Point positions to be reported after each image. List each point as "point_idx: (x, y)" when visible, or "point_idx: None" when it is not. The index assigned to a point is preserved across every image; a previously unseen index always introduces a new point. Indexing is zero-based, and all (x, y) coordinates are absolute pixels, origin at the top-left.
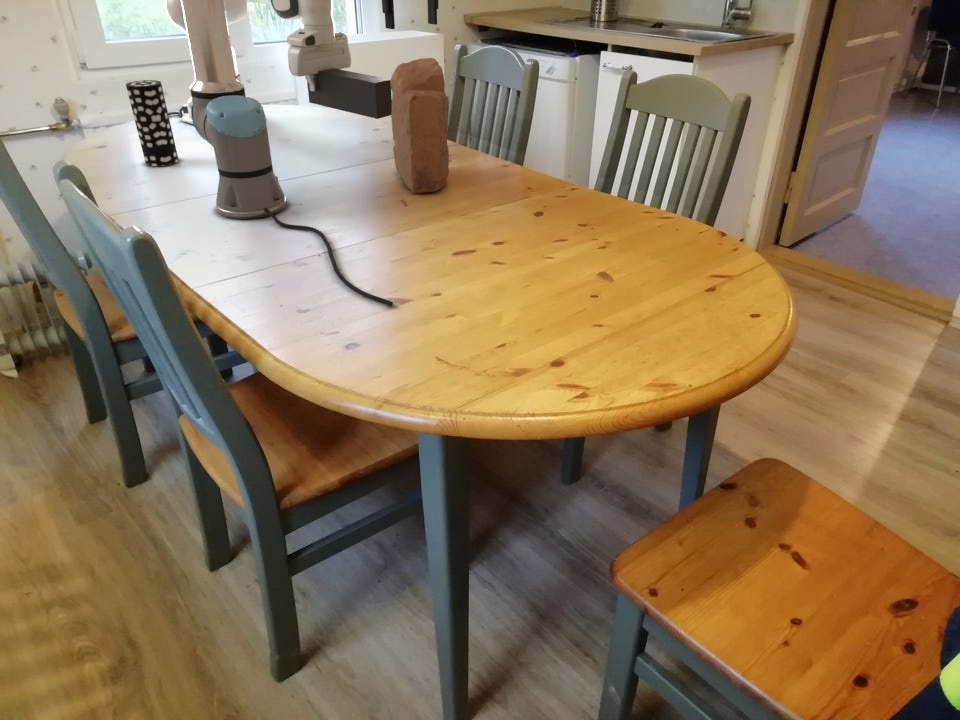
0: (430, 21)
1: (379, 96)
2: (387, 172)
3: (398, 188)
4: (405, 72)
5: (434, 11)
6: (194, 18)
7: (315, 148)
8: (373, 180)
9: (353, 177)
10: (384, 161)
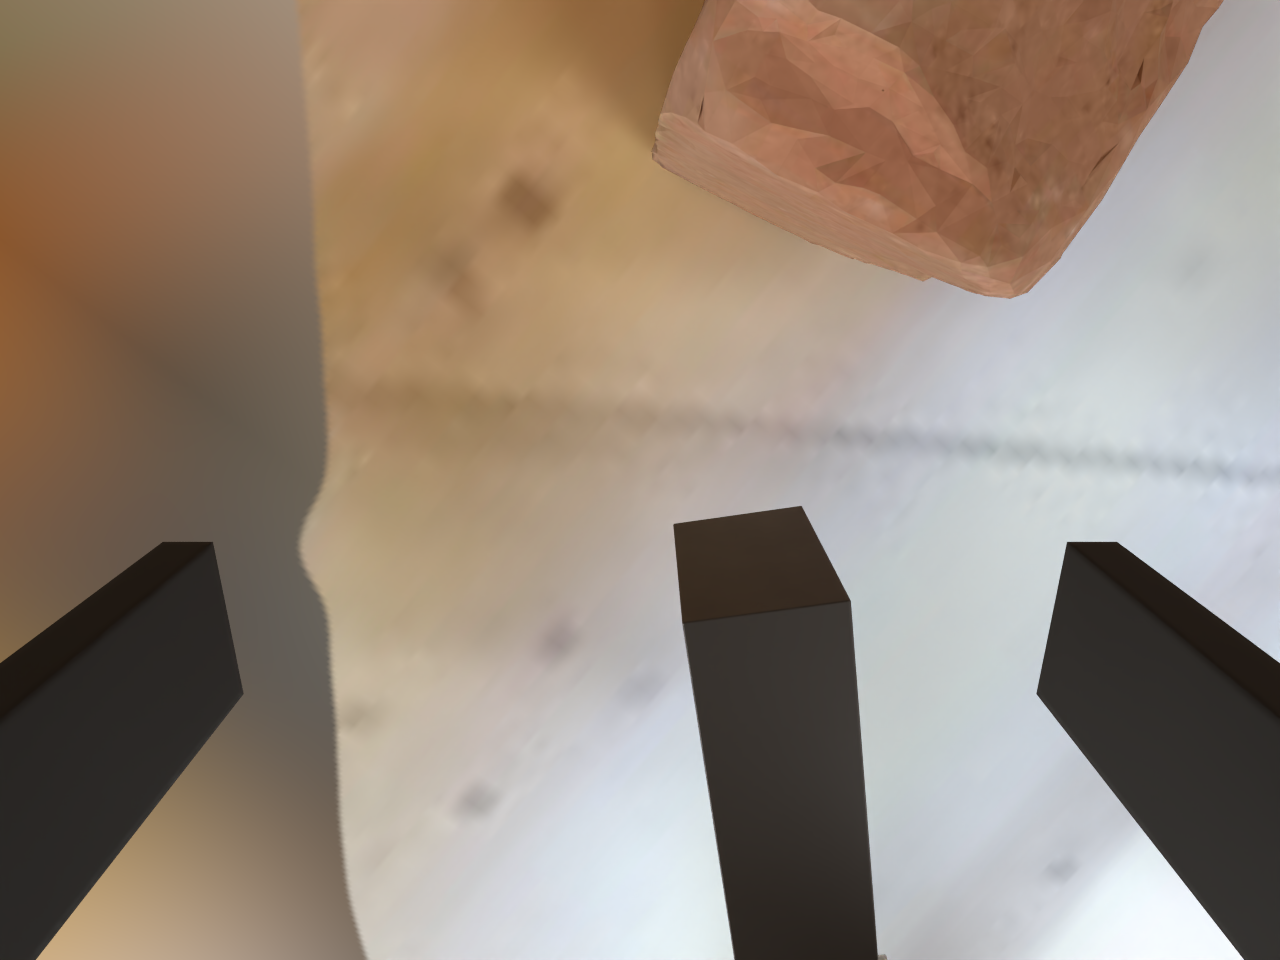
0: (216, 660)
1: (795, 560)
2: None
3: None
4: (1141, 3)
5: (85, 653)
6: None
7: None
8: None
9: (1024, 308)
10: (759, 409)
